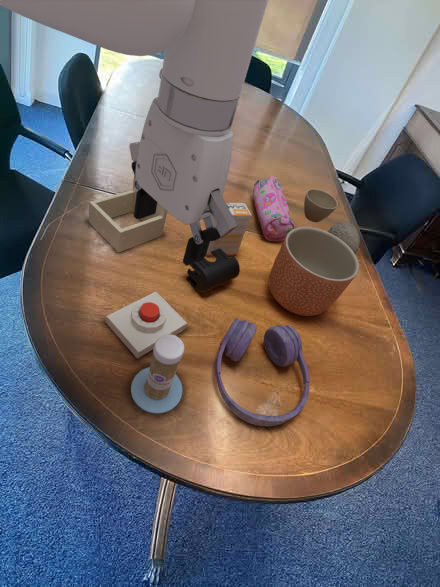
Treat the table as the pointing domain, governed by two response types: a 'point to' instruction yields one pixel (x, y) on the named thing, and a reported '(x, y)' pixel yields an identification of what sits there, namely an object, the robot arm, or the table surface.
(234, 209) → the supplement box
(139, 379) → the coaster
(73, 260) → the table surface
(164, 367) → the sprinkles bottle
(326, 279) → the planter
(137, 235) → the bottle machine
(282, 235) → the pencil case
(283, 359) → the headphones
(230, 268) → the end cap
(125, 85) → the table surface
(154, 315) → the release button
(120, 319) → the button block
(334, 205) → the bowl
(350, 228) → the decorative stone
